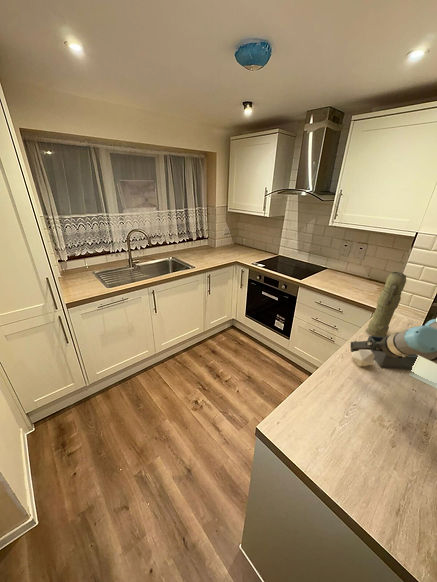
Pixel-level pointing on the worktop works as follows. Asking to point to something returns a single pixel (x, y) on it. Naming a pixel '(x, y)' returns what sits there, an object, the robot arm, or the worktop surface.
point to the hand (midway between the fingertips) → (369, 351)
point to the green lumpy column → (387, 304)
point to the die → (363, 357)
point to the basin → (392, 358)
